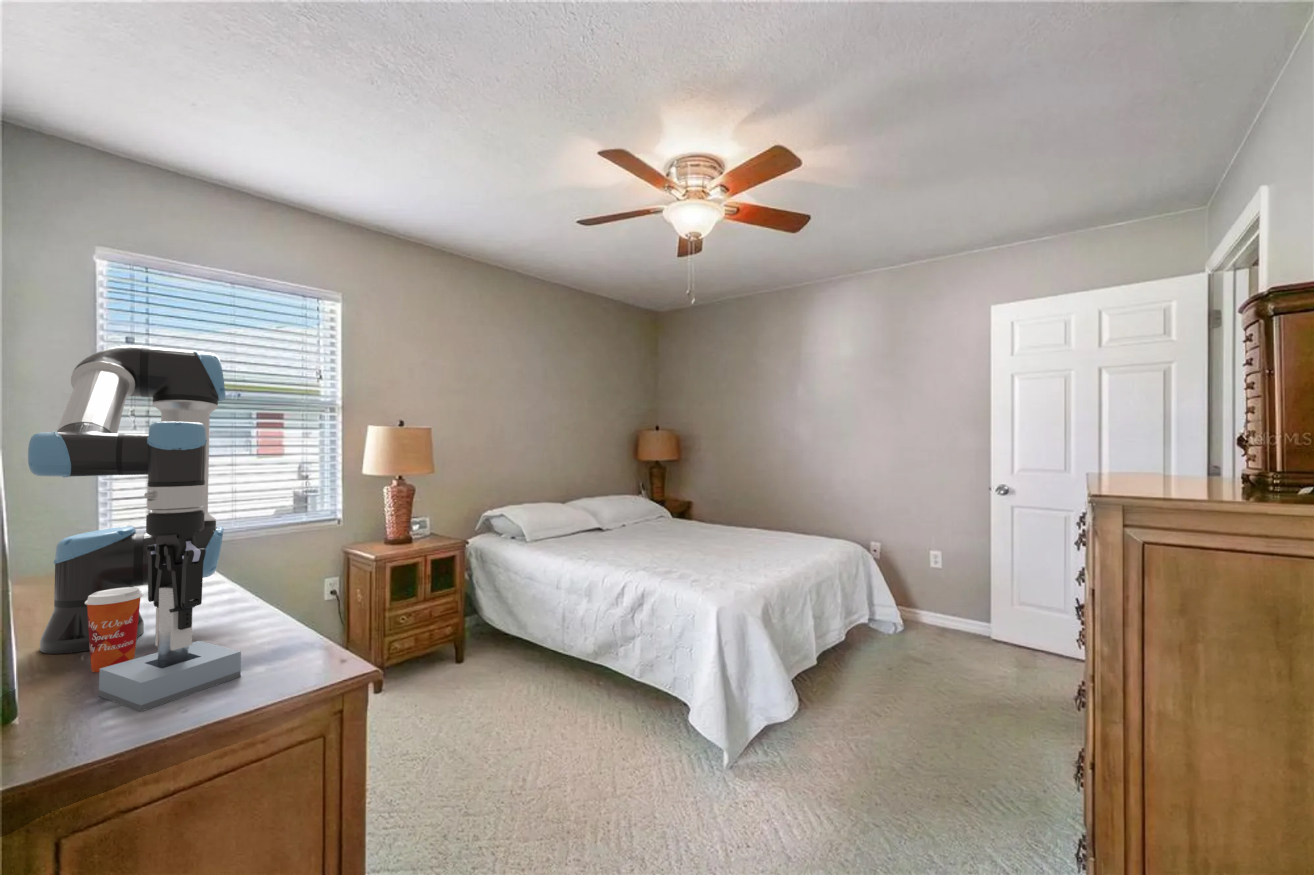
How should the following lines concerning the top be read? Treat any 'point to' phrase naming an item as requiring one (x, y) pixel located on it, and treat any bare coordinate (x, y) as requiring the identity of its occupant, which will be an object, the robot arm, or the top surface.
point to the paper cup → (113, 626)
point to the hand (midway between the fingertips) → (173, 645)
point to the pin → (167, 631)
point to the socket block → (168, 676)
